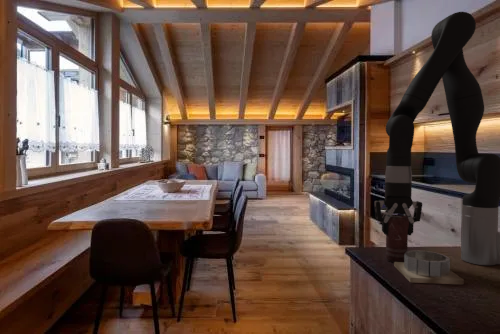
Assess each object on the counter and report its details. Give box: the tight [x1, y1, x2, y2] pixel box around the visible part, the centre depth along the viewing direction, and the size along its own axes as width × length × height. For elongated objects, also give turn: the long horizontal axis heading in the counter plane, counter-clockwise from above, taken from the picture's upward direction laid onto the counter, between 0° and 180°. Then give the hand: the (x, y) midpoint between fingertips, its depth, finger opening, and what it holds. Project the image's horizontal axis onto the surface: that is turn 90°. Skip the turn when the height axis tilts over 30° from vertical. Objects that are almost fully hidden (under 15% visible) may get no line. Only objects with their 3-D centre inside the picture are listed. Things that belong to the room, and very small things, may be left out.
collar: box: [404, 249, 451, 277], centre depth 94 cm, size 11×11×4 cm
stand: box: [393, 262, 465, 285], centre depth 94 cm, size 13×13×1 cm
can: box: [385, 214, 409, 264], centre depth 106 cm, size 6×6×14 cm
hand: (397, 234), depth 106 cm, fingers closed on can, 6 cm apart
